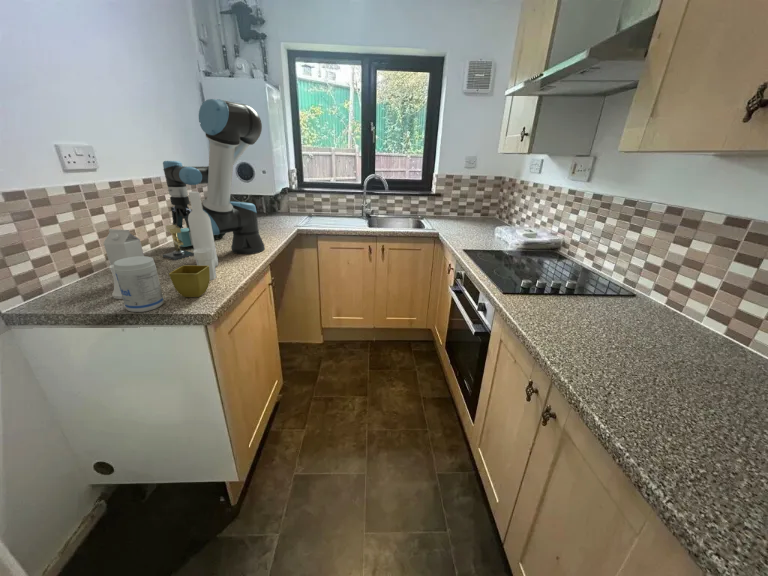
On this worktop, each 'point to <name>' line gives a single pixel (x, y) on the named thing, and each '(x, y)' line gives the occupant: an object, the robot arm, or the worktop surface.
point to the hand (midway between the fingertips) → (188, 242)
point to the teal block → (184, 237)
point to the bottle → (200, 226)
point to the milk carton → (122, 245)
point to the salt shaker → (115, 285)
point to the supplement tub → (139, 283)
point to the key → (175, 235)
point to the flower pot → (191, 280)
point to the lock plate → (178, 254)
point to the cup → (206, 259)
